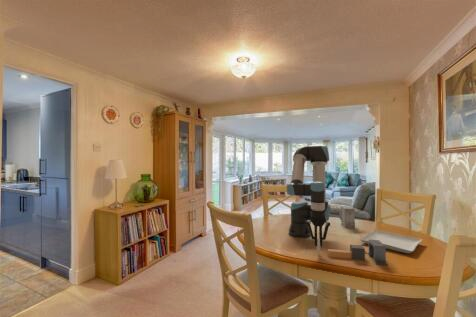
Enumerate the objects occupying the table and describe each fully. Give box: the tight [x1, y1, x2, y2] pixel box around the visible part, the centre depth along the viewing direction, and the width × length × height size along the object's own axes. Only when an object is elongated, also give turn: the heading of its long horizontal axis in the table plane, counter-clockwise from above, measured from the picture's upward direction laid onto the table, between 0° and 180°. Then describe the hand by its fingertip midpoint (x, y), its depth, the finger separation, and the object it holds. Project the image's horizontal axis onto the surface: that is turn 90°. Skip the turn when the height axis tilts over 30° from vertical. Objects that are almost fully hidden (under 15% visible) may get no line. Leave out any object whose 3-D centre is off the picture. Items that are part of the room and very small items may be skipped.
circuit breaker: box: [338, 206, 356, 229], centre depth 183 cm, size 8×14×15 cm, turn 174°
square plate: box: [359, 229, 423, 254], centre depth 142 cm, size 27×27×4 cm
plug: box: [327, 244, 368, 261], centre depth 123 cm, size 19×5×6 cm, turn 77°
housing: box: [367, 240, 389, 266], centre depth 120 cm, size 5×13×9 cm, turn 167°
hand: (318, 251), depth 127 cm, fingers closed
